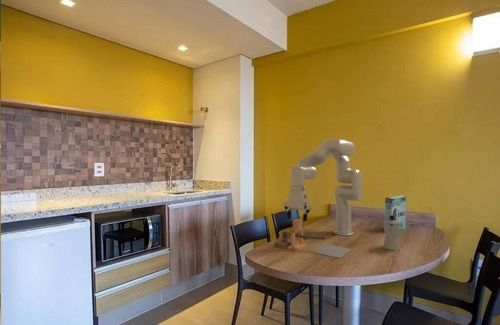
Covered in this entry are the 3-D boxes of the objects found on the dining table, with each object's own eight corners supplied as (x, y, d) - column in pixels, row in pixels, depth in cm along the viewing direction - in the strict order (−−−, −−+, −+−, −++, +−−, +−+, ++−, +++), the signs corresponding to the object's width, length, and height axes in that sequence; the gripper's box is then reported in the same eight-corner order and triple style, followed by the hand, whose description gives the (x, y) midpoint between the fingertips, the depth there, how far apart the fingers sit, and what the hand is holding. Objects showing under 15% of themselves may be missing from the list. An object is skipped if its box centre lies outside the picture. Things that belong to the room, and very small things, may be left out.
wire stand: (284, 241, 169) (284, 229, 169) (325, 250, 153) (325, 236, 153) (274, 245, 161) (274, 232, 161) (317, 255, 145) (317, 240, 145)
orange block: (297, 244, 164) (297, 217, 164) (306, 246, 160) (306, 218, 160) (287, 248, 156) (287, 220, 156) (297, 251, 152) (297, 222, 152)
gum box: (399, 227, 206) (399, 195, 205) (406, 228, 202) (406, 196, 201) (384, 231, 194) (384, 197, 194) (391, 232, 190) (392, 198, 190)
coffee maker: (400, 252, 149) (400, 218, 149) (381, 250, 154) (382, 216, 154) (401, 245, 163) (401, 213, 162) (384, 243, 167) (384, 212, 167)
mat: (325, 244, 163) (325, 244, 163) (351, 250, 154) (351, 249, 154) (312, 252, 150) (312, 251, 150) (340, 258, 141) (340, 257, 141)
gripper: (315, 189, 155) (314, 221, 155) (287, 187, 166) (286, 216, 166) (308, 190, 149) (308, 223, 149) (280, 188, 160) (279, 218, 160)
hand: (296, 219), depth 158 cm, fingers open, 9 cm apart
